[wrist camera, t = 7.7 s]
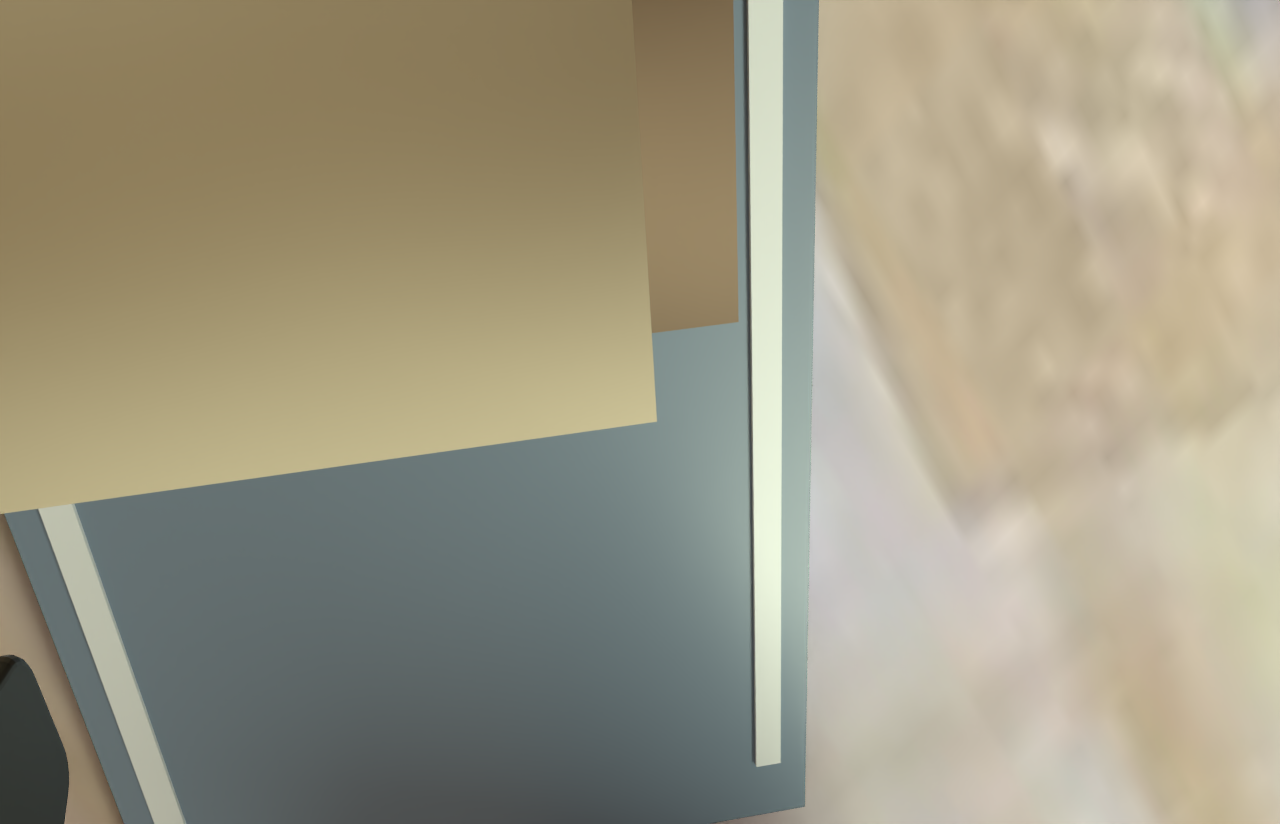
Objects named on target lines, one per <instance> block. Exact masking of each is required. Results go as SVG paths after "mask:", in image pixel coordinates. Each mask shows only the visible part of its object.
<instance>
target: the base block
mask: <svg viewBox="0 0 1280 824" xmlns="http://www.w3.org/2000/svg"><path fill="white" fill-rule="evenodd" d="M632 13H633V29H634V46H635V63H636V79H637V96H638V113H639V129H640V146H641V163H642V179H643V196H644V213H645V229H646V246H647V263H648V279H649V296H650V313H651V329H652V333H658V332H665V331H673V330H681V329H689V328H696V327H704V326H712V325H720V324H728V323H735V322H739V315H738V255H737V195H736V135H735V74H734V14H733V0H632Z"/></svg>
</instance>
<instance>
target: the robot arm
mask: <svg viewBox="0 0 1280 824" xmlns="http://www.w3.org/2000/svg"><path fill="white" fill-rule="evenodd" d="M68 788H69V770H68V762H67V757H66V752H65V750H64V747H63V744H62V742H61V739H60V737H59V734H58V732H57V729H56V727H55V725H54V722H53V720H52V717H51V715H50V712H49V710H48V707H47V705H46V703H45V700H44V698H43V695H42V693H41V690H40V688H39V686H38V683H37V681H36V678H35V676H34V674H33V672H32V670H31V668H30V667H29V665H28V664H27V663H26V662H25V661H24V660H23V659H21V658H19V657H16V656H14V655H5V656H0V824H64V820H65V812H66V805H67V797H68Z"/></svg>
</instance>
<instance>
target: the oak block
mask: <svg viewBox="0 0 1280 824" xmlns="http://www.w3.org/2000/svg"><path fill="white" fill-rule="evenodd" d="M651 422H657V413H656V396H655V379H654V363H653V346H652V329H651V313H650V296H649V279H648V263H647V246H646V229H645V213H644V196H643V179H642V163H641V146H640V129H639V113H638V96H637V79H636V63H635V46H634V29H633V13H632V0H0V514H4V513H11V512H18V511H25V510H32V509H39V508H46V507H53V506H61V505H68V504H75V503H82V502H89V501H96V500H103V499H110V498H117V497H125V496H132V495H139V494H146V493H153V492H160V491H167V490H174V489H181V488H189V487H196V486H203V485H210V484H217V483H224V482H231V481H238V480H245V479H253V478H260V477H267V476H274V475H281V474H288V473H295V472H302V471H309V470H317V469H324V468H331V467H338V466H345V465H352V464H359V463H366V462H373V461H381V460H388V459H395V458H402V457H409V456H416V455H423V454H430V453H437V452H445V451H452V450H459V449H466V448H473V447H480V446H487V445H494V444H502V443H509V442H516V441H523V440H530V439H537V438H544V437H551V436H558V435H566V434H573V433H580V432H587V431H594V430H601V429H608V428H615V427H622V426H630V425H637V424H644V423H651Z"/></svg>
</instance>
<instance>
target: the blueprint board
mask: <svg viewBox="0 0 1280 824" xmlns="http://www.w3.org/2000/svg"><path fill="white" fill-rule="evenodd" d="M733 14H734V74H735V135H736V195H737V255H738V315H739V322H735V323H728V324H720V325H712V326H704V327H696V328H689V329H681V330H673V331H665V332H658V333H652V346H653V363H654V379H655V396H656V413H657V422H651V423H644V424H637V425H630V426H622V427H615V428H608V429H601V430H594V431H587V432H580V433H573V434H566V435H558V436H551V437H544V438H537V439H530V440H523V441H516V442H509V443H502V444H494V445H487V446H480V447H473V448H466V449H459V450H452V451H445V452H437V453H430V454H423V455H416V456H409V457H402V458H395V459H388V460H381V461H373V462H366V463H359V464H352V465H345V466H338V467H331V468H324V469H317V470H309V471H302V472H295V473H288V474H281V475H274V476H267V477H260V478H253V479H245V480H238V481H231V482H224V483H217V484H210V485H203V486H196V487H189V488H181V489H174V490H167V491H160V492H153V493H146V494H139V495H132V496H125V497H117V498H110V499H103V500H96V501H89V502H82V503H75V504H68V505H61V506H53V507H46V508H39V509H32V510H25V511H18V512H11V513H4V515H5V517H6V520H7V522H8V525H9V528H10V530H11V533H12V535H13V538H14V541H15V543H16V546H17V548H18V551H19V553H20V556H21V559H22V561H23V564H24V566H25V569H26V572H27V574H28V577H29V579H30V582H31V584H32V587H33V590H34V592H35V595H36V597H37V600H38V603H39V605H40V608H41V610H42V613H43V615H44V618H45V621H46V623H47V626H48V628H49V631H50V634H51V636H52V639H53V641H54V644H55V647H56V649H57V652H58V654H59V657H60V659H61V662H62V665H63V667H64V670H65V672H66V675H67V678H68V680H69V683H70V685H71V688H72V690H73V693H74V696H75V698H76V701H77V703H78V706H79V709H80V711H81V714H82V716H83V719H84V721H85V724H86V727H87V729H88V732H89V734H90V737H91V740H92V742H93V745H94V747H95V750H96V753H97V755H98V758H99V760H100V763H101V765H102V768H103V771H104V773H105V776H106V778H107V781H108V784H109V786H110V789H111V791H112V794H113V796H114V799H115V802H116V804H117V807H118V809H119V812H120V815H121V817H122V820H123V822H124V824H711V823H716V822H722V821H727V820H733V819H739V818H744V817H750V816H755V815H761V814H766V813H772V812H777V811H783V810H788V809H794V808H800V807H805V758H806V701H807V644H808V586H809V529H810V472H811V415H812V358H813V301H814V244H815V187H816V129H817V72H818V15H819V0H733Z"/></svg>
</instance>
